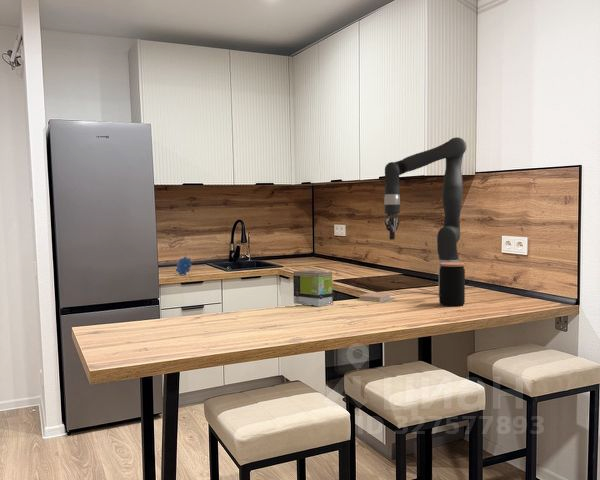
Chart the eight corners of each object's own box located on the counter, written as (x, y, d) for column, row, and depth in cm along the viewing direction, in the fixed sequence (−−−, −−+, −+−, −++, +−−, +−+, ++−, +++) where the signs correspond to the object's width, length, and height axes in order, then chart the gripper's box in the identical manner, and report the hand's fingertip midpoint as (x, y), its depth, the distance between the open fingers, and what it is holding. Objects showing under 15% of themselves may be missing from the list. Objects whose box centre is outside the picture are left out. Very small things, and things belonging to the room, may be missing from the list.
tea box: (333, 304, 249) (333, 271, 248) (318, 307, 242) (317, 273, 241) (307, 301, 259) (307, 268, 258) (292, 303, 252) (292, 270, 251)
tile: (389, 294, 253) (379, 297, 245) (389, 298, 253) (379, 301, 245) (369, 292, 259) (359, 295, 250) (369, 297, 259) (359, 300, 251)
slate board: (396, 301, 255) (396, 298, 255) (383, 305, 243) (383, 302, 243) (369, 299, 263) (369, 295, 263) (354, 303, 251) (354, 299, 251)
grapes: (187, 273, 380) (187, 256, 380) (193, 274, 376) (193, 256, 375) (172, 275, 372) (172, 257, 372) (178, 276, 367) (178, 257, 367)
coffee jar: (466, 303, 247) (466, 262, 246) (462, 307, 238) (462, 264, 237) (441, 302, 252) (441, 262, 251) (437, 305, 242) (437, 264, 241)
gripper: (393, 203, 267) (393, 240, 268) (404, 203, 278) (404, 239, 279) (379, 203, 271) (379, 239, 272) (390, 204, 282) (390, 238, 283)
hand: (392, 239), depth 275 cm, fingers closed
